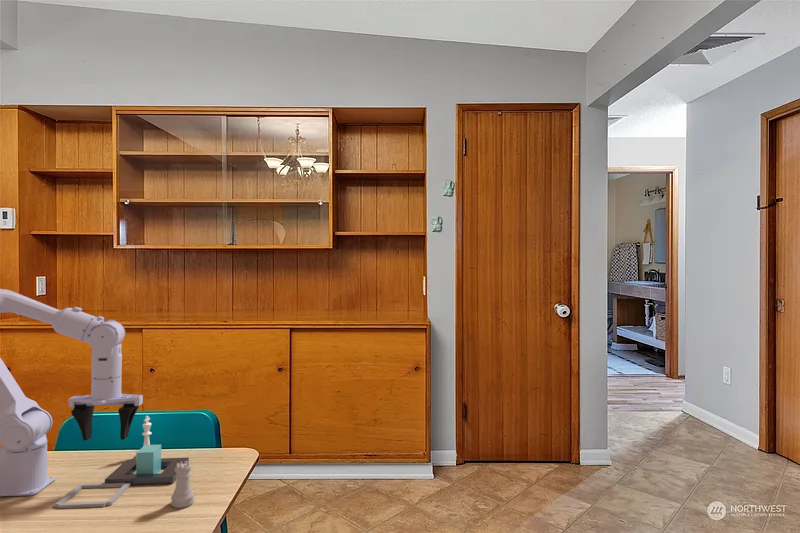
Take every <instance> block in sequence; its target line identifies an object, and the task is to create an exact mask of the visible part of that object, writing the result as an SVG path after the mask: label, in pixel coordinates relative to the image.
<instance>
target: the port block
mask: <svg viewBox="0 0 800 533" xmlns="http://www.w3.org/2000/svg"><path fill="white" fill-rule="evenodd" d="M184 461H187V464H188V462H190V458H189V457H164V458H162V457H161V469H164V470H163V471H161V473H160V472H159V473H158V474H136V458H134V459H133V458H132V459H131V458H129V459H126V460H125V461H124V462H123V463H122V464H120V465H119V466H118V467H117V468H116V469H115V470H114V471H112V472H111V473H110V474H109V475H108V476H107V477H106V478H105V479H104V483H131V486H145V485H146V486H148V485H173V484H174V483H175V482H176V478H175V476H176V475H177V473H176V472H175V471H174V469H175V467H176V464H177V463H179V462H182V464H184ZM134 473H135V474H134Z"/></svg>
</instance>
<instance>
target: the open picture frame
mask: <svg viewBox="0 0 800 533" xmlns="http://www.w3.org/2000/svg"><path fill="white" fill-rule="evenodd" d="M130 486H132V485H131V483H105V482H90V483H89V482H88V483H86V482H85V483H83V484H82V483H81V484H77V485H76V486H75V487H74V488H72V489H71V490H70V491H69V492H67V493H66V494H65V495H64V496H62V497H61V498H60V499H59V500H57V501H56V502H55V503H54V504H53V508H57V509H73V508H74V509H77V508H101V507H107V506H112V505H113V504H114V503H115V502H116V501H117V500H118V499H119V498H120V497H121V496H122V495H123V494H124V493H125V492H126V491H127V490H128V489H129V488H130ZM99 488H102V489H103V488H119V489H118V490H117V491H116V492H115V493H114V494H113V495H112V496H111V497H110V498H109V499H108V500H105V501H104V500H102V501H101V500H100V501H98V500H97V501H78V502H77V501H74V502H68V501H69V500H70V499H71V498H72V497H73V496H74V495H76V494H78V492H79V491H81V490H82V489H99Z"/></svg>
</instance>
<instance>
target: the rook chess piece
mask: <svg viewBox="0 0 800 533" xmlns="http://www.w3.org/2000/svg"><path fill="white" fill-rule="evenodd" d="M192 468H193V467H192V465H191V462H190V461H189V462H188V464H187V461H184V464H182V462H179V463H177V464H176V467H175V469H174V471H175V472H176V473H177V475H176V476H175V478H176V480H175V482H176V483H175V489H174V491H173V494H172V495H171V497H170V500H171V501H170V505H171V507H172V508H175V509H184V508H187V507H190V506H191V505H193V503H194V502H195V493H194V491H193V488H191V483H190V477H191V473H190V471H191V470H192Z"/></svg>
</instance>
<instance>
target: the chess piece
mask: <svg viewBox="0 0 800 533" xmlns="http://www.w3.org/2000/svg"><path fill="white" fill-rule="evenodd" d="M150 420H151V417H149V415H145V419H143V422H144V423H143V424H142V428H143V431H144V432H142V433H141V435H142V436H144V437H143V438H144V439H143V441H144V442H143V445H142V447H143V446H144V445H151V444H150V443H151V442H150V441H151V440H150V435H152V432H151V431H150V430H151V426H152V422H149V421H150Z"/></svg>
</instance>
